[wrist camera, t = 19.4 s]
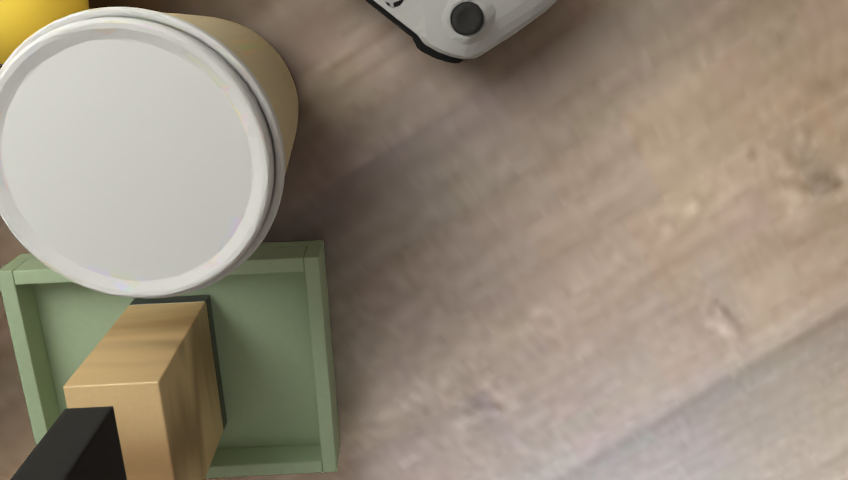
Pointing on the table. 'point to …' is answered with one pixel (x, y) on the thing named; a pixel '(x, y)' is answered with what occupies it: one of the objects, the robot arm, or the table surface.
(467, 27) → the gaming controller
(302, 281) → the tray
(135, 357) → the tan rectangular block
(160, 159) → the coffee cup
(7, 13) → the yellow angular block
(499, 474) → the table surface
